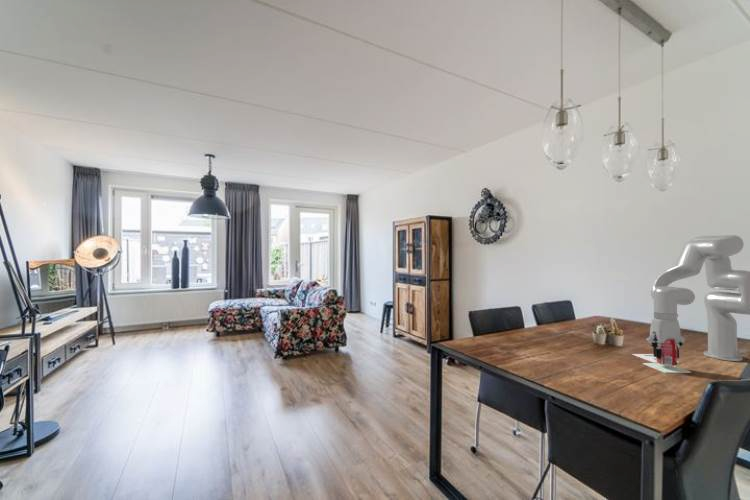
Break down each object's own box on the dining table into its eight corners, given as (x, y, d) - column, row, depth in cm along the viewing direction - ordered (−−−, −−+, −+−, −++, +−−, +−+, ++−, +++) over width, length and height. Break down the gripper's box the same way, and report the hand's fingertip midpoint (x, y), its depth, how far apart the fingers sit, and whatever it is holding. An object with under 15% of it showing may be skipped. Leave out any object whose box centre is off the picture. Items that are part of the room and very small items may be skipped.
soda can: (668, 361, 141) (667, 334, 141) (682, 367, 134) (681, 339, 134) (651, 361, 141) (650, 334, 141) (664, 366, 134) (663, 338, 134)
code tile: (655, 354, 156) (655, 353, 156) (679, 362, 144) (679, 362, 144) (632, 354, 156) (632, 353, 156) (653, 362, 144) (653, 362, 144)
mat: (666, 363, 143) (666, 362, 143) (691, 372, 132) (691, 371, 132) (642, 364, 143) (642, 363, 143) (665, 373, 132) (665, 372, 132)
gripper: (676, 314, 142) (677, 354, 141) (638, 315, 141) (639, 354, 141) (693, 318, 134) (694, 360, 134) (653, 318, 134) (654, 360, 134)
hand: (666, 357), depth 137 cm, fingers closed on soda can, 7 cm apart
